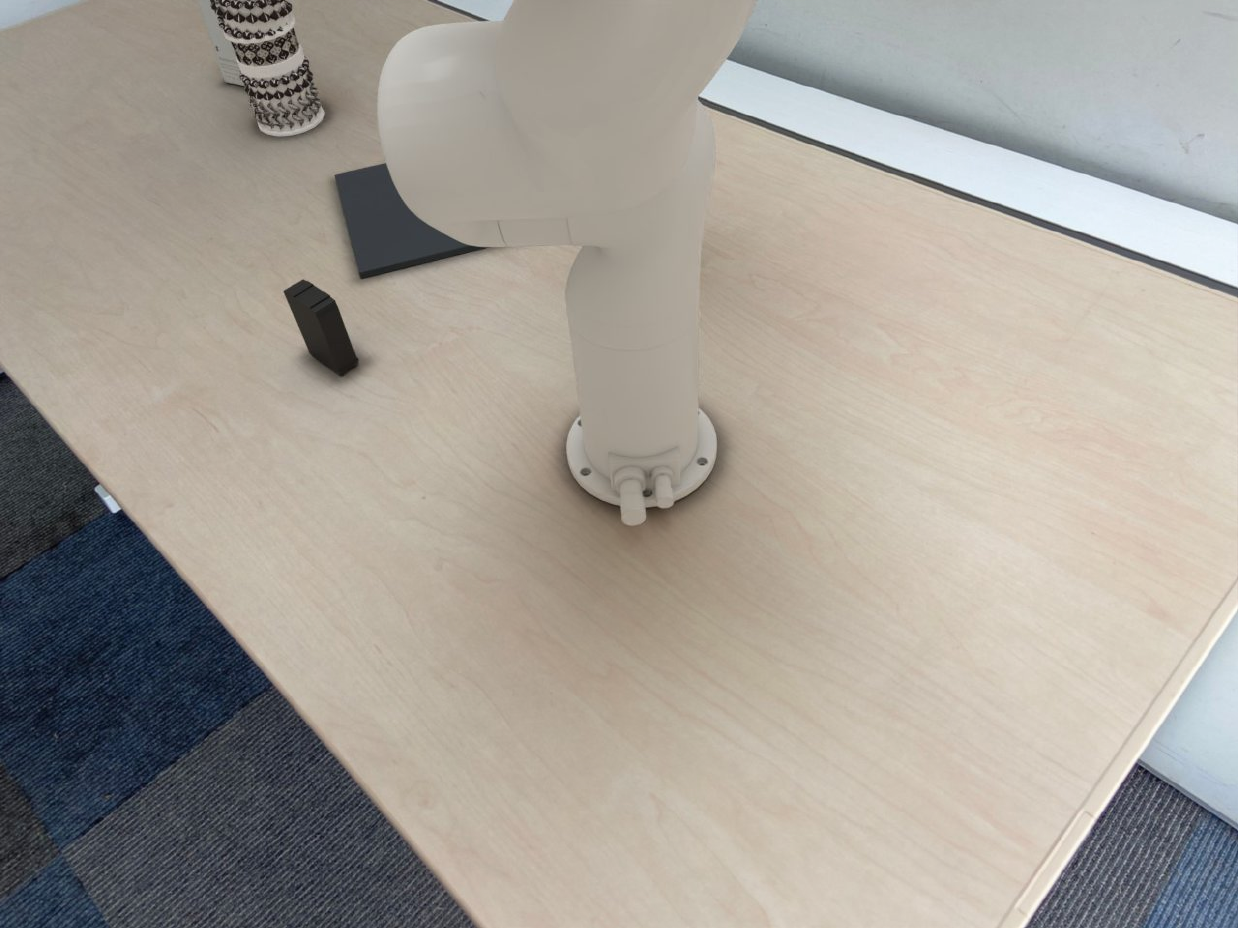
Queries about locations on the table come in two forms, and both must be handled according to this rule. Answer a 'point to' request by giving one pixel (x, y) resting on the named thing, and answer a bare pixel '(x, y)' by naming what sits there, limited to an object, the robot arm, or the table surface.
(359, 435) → the table surface
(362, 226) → the mat
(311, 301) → the ink cartridge
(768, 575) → the table surface
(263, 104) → the decorative candle
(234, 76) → the cosmetic box
